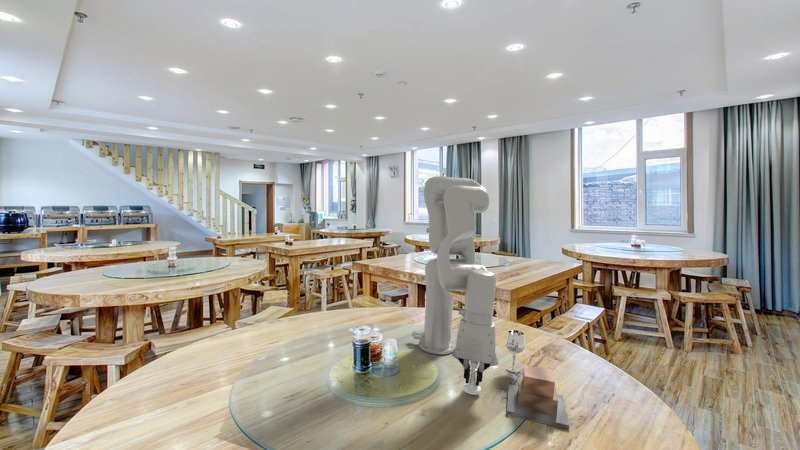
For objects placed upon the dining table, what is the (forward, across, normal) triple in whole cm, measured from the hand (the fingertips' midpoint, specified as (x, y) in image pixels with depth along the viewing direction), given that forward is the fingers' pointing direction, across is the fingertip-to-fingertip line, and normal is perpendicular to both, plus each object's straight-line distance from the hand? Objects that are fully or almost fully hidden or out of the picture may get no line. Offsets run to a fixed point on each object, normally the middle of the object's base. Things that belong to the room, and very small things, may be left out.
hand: (472, 381), depth 97 cm
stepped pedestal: (+3, +16, 0) cm, 17 cm away
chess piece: (+2, 0, 0) cm, 2 cm away
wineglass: (+4, +10, +19) cm, 22 cm away
